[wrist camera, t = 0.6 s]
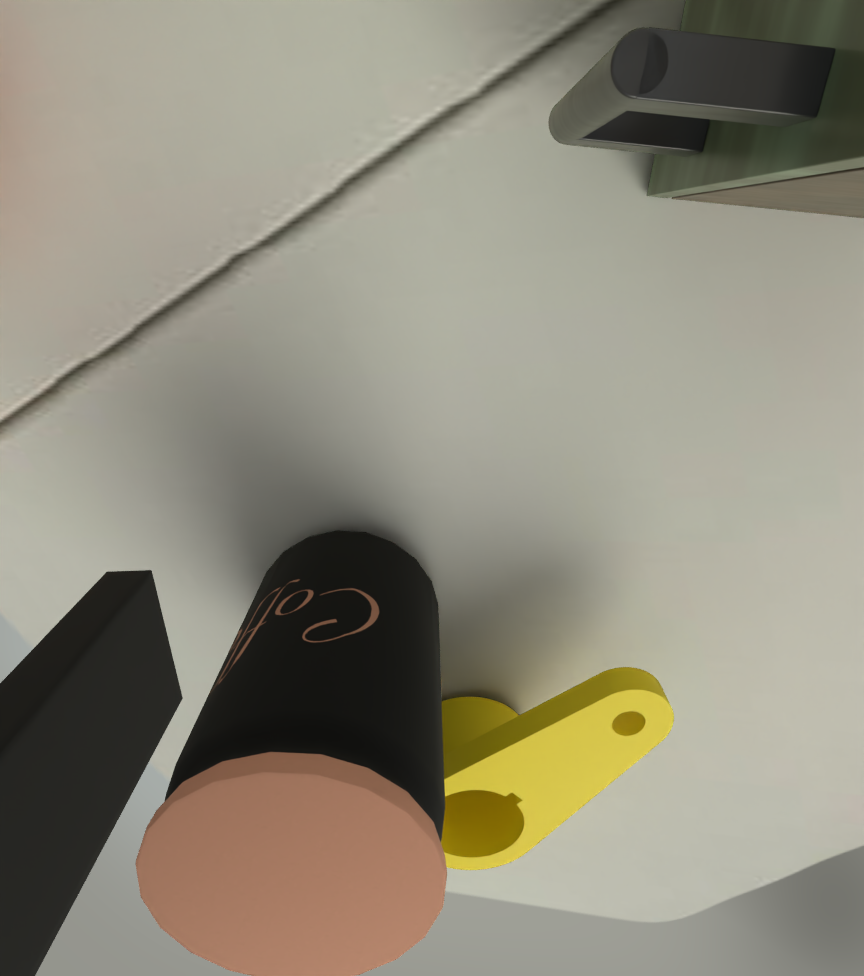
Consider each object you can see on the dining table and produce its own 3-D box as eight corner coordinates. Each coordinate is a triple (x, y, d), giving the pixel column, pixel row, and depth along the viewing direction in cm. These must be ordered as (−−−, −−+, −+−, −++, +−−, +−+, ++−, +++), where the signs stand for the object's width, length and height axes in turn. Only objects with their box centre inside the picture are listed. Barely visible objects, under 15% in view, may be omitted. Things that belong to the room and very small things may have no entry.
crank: (373, 825, 36) (379, 744, 42) (470, 887, 39) (464, 802, 44) (616, 655, 31) (588, 587, 36) (710, 740, 34) (670, 664, 39)
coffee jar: (394, 494, 35) (367, 729, 18) (463, 638, 39) (492, 939, 22) (230, 559, 37) (68, 830, 20) (312, 691, 40) (233, 1011, 24)
